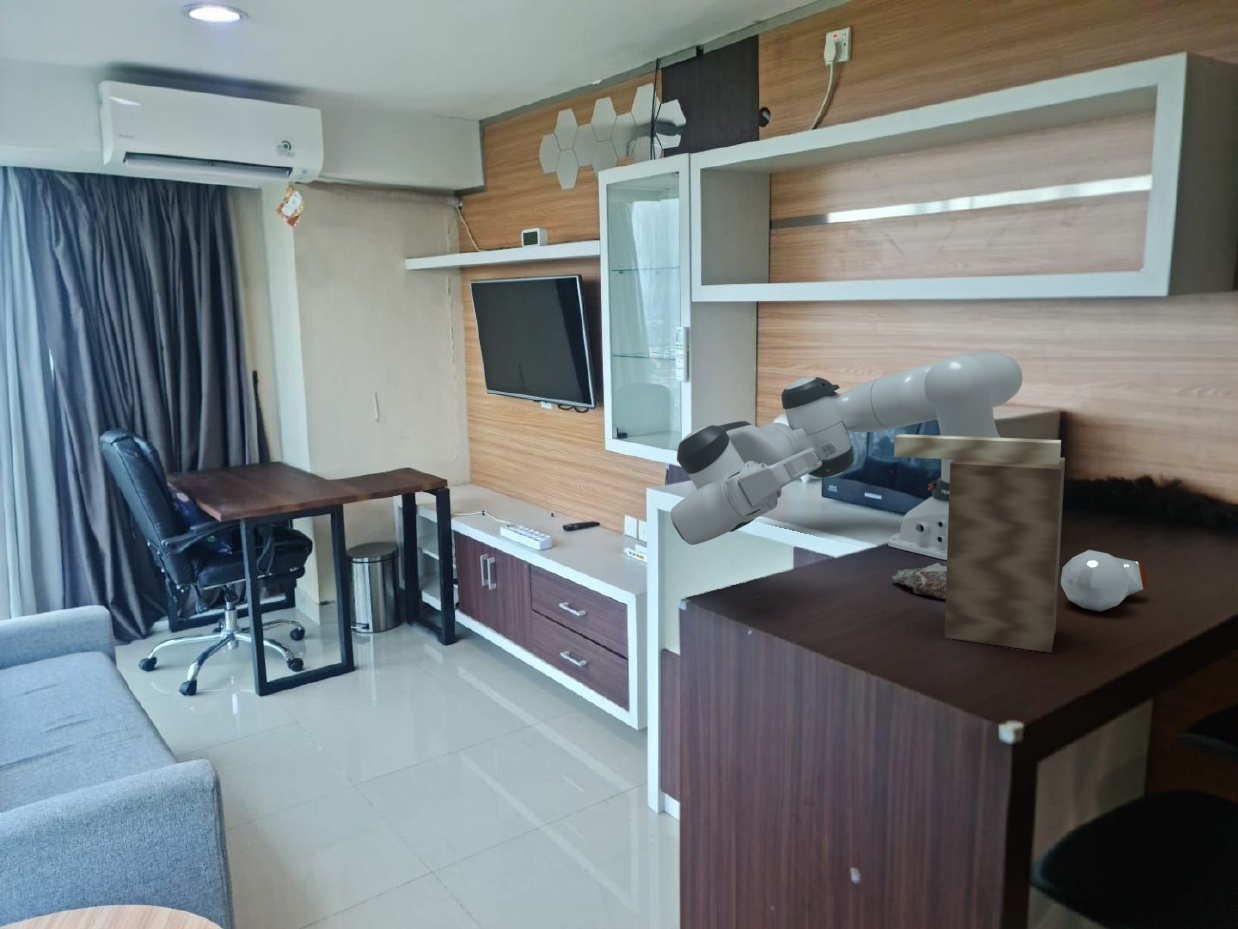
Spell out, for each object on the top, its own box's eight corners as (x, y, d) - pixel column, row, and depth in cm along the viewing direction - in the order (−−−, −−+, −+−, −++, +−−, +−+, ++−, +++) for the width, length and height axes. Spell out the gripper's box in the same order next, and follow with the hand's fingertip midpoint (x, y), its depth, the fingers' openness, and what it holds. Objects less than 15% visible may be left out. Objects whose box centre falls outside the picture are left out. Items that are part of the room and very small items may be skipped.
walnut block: (944, 638, 126) (950, 463, 122) (955, 617, 134) (961, 452, 130) (1051, 654, 119) (1061, 469, 115) (1055, 630, 128) (1065, 457, 123)
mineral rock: (885, 586, 151) (886, 562, 150) (920, 579, 155) (920, 555, 154) (950, 610, 138) (950, 584, 137) (986, 602, 141) (987, 576, 141)
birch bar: (894, 456, 129) (894, 436, 128) (898, 453, 131) (898, 434, 131) (1058, 464, 118) (1060, 443, 117) (1060, 461, 120) (1061, 440, 120)
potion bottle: (1064, 622, 135) (1115, 613, 143) (1121, 599, 127) (1171, 591, 136) (1037, 567, 138) (1088, 561, 147) (1091, 542, 131) (1141, 538, 139)
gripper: (784, 494, 151) (853, 458, 144) (739, 518, 133) (816, 479, 126) (767, 462, 151) (834, 425, 144) (720, 482, 134) (795, 441, 127)
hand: (825, 451), depth 135 cm, fingers open, 8 cm apart
